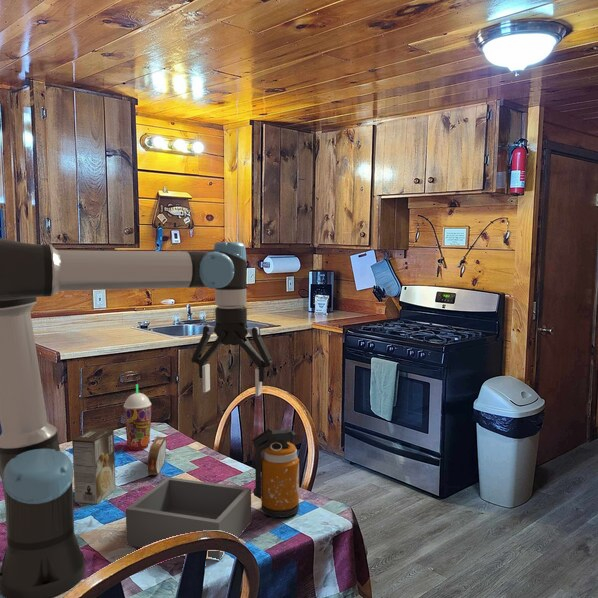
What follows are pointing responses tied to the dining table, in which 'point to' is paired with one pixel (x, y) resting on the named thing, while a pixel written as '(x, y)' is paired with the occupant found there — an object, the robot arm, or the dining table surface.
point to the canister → (277, 473)
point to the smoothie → (137, 420)
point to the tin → (156, 456)
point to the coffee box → (94, 465)
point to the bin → (187, 511)
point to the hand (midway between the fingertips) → (232, 392)
